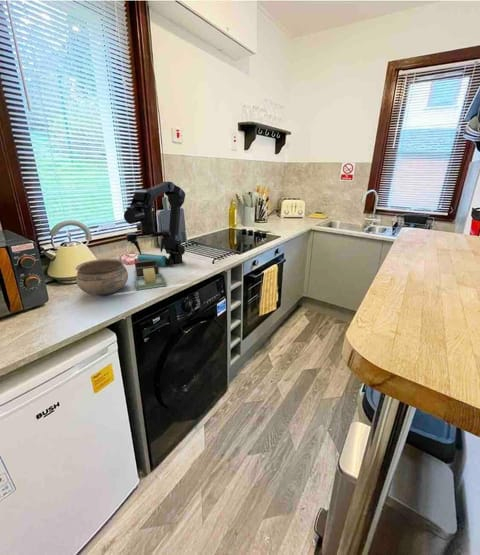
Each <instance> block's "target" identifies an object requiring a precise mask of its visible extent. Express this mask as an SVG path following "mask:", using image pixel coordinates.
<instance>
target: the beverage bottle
mask: <svg viewBox="0 0 480 555" xmlns="http://www.w3.org/2000/svg"><path fill="white" fill-rule="evenodd" d="M151 260H156V266H157V265H158V268H159V267H162V268H164V267H167V266H168V267H170V266H171V267H172V266H174V264H173V263H174V260H173V259H172V258H169V257H168V256H166V255H162V254H151V253H141V255H140V253H139V254H138V256H137V258H136V262H142V261H151Z"/></svg>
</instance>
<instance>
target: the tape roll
mask: <svg viewBox="0 0 480 555" xmlns="http://www.w3.org/2000/svg"><path fill="white" fill-rule="evenodd" d="M143 275H144V279H143V281H144V285H145V284H153V283H157V280H156V278H157V277H155V271H154V268H147V269H143Z"/></svg>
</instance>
